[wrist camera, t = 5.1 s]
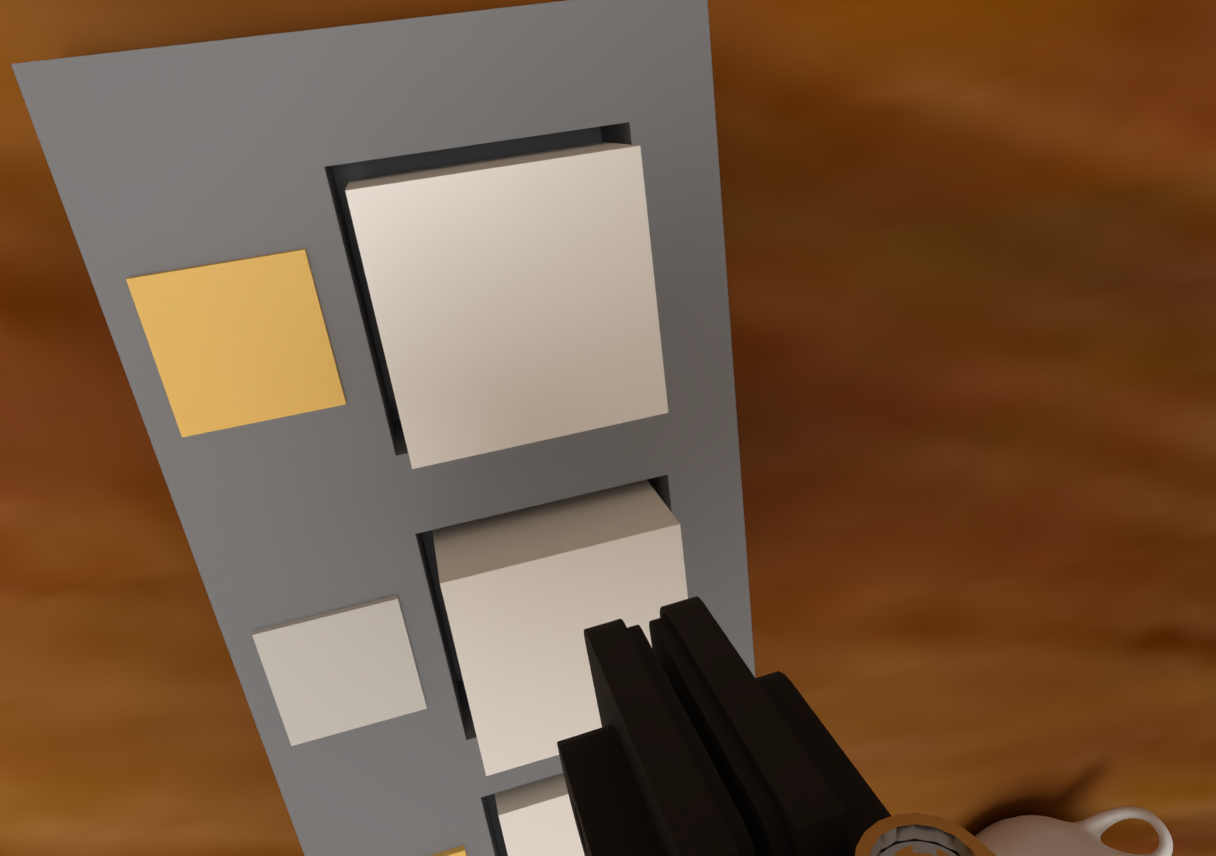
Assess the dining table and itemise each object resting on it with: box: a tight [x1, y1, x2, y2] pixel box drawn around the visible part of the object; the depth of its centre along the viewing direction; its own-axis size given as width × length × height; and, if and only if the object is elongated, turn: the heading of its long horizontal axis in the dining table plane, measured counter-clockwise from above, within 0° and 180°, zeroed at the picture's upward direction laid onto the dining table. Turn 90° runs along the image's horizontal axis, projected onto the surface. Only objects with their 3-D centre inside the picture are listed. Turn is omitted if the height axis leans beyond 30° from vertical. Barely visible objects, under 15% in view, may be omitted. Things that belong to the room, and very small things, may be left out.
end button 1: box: [494, 773, 585, 856], centre depth 27 cm, size 6×6×3 cm
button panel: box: [11, 0, 755, 856], centre depth 24 cm, size 14×30×3 cm, turn 7°
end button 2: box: [345, 142, 668, 469], centre depth 19 cm, size 6×6×3 cm
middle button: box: [432, 480, 688, 776], centre depth 22 cm, size 6×6×3 cm
